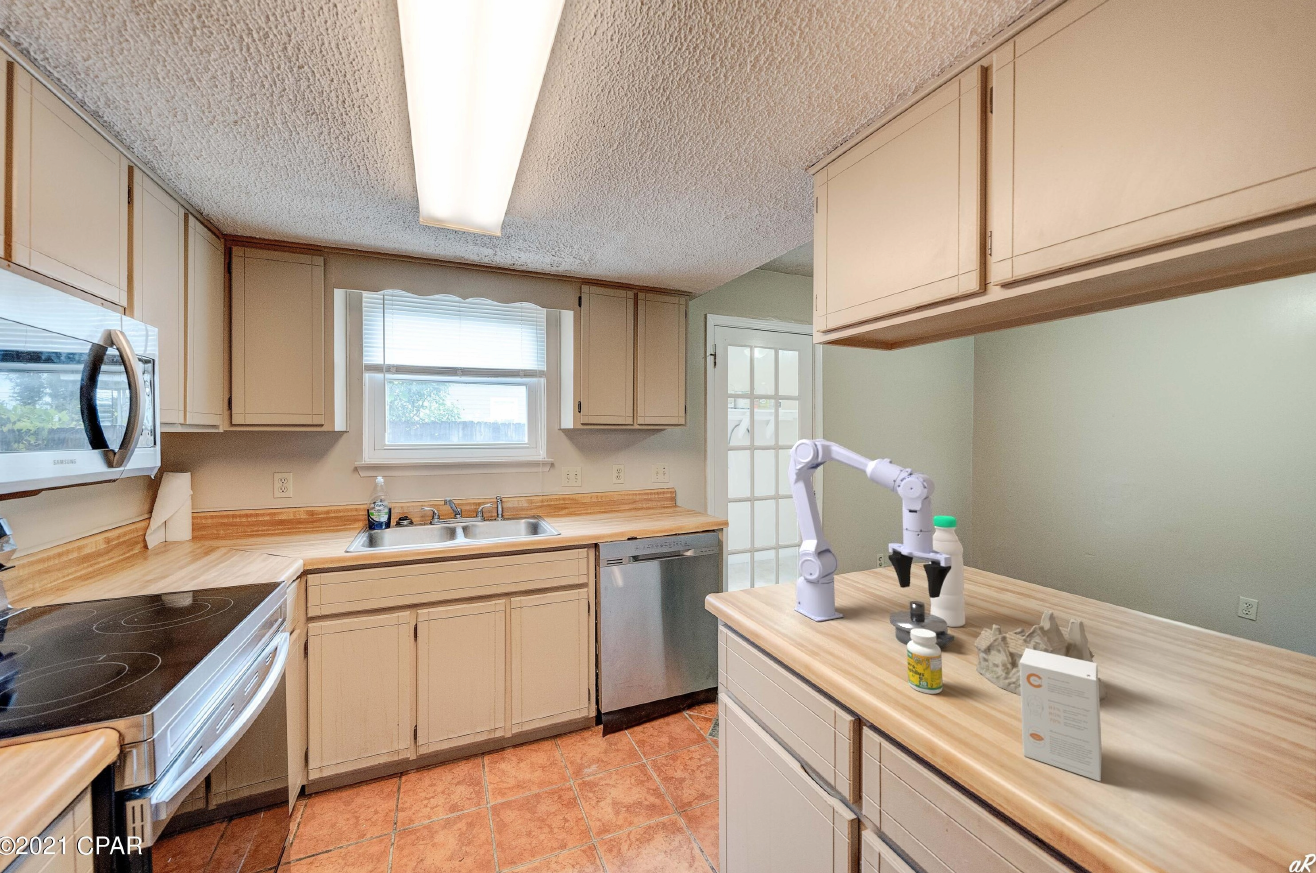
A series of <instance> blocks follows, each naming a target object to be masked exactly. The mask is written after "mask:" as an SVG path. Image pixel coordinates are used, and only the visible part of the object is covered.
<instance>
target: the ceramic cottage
mask: <svg viewBox="0 0 1316 873" xmlns="http://www.w3.org/2000/svg"><path fill="white" fill-rule="evenodd" d="M1002 632H1003V631H1002V628H1001V626H1000V625H997V624H993V625H992V630H990V629H988V627H987V628H982V631H981V632H980V634H979V636H977V638H976V640H975V642H974V645H973V646H974V648H976V650H977V656H978V662H976V669H975V670H976V671H977V673H979V674H981V675H982V676H983V678H985V679H987V680H988V681H990V683H993V685H994V686H997V687H999V688H1001V689H1003V690H1006V691H1008V692H1009V693H1012V694H1013V693H1014V694H1015V695H1017V696H1019V697H1021V684H1020V664H1019V662H1020V660H1021V658H1022V656H1023V654H1024V651H1025V649H1026V648H1028V649H1032V650H1037V651H1042V652H1046V653H1051V654H1056V655H1060V656H1065V657H1070V658H1074V659H1079V660H1084V661H1088V662H1093V663H1095V662H1094V661H1093V659H1094V657H1095V654H1093V652H1092V651H1091V649H1090V647H1089V640H1088V637H1087V634H1086V630H1085V625H1084V621H1083V620H1081V619H1078V618H1071V619H1070V620H1069V623H1068V628H1066V627H1061V626H1059V625H1058V622H1057V619H1056V617H1055V616H1054V611H1050V610H1046V609H1045V610H1044V612H1043V614H1042V617H1041V620H1040V624H1036V625H1033V626H1032V627H1031V629H1030V631H1027V632H1025V629H1024V628H1023V627H1020V628H1018V629H1015V630H1013V631H1010V632H1009V631H1008V632H1007V633H1002ZM1098 683H1099V701H1101V700H1103V699H1102V698H1104V699H1106V698H1107V695H1106V694H1107V692H1106V688H1105V684H1104V682H1103V681H1102V680H1101V678H1100V677H1098ZM1105 697H1106V698H1105ZM1100 699H1101V700H1100Z"/></svg>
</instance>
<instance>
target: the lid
mask: <svg viewBox="0 0 1316 873" xmlns="http://www.w3.org/2000/svg"><path fill="white" fill-rule="evenodd" d="M925 609H926V608H925V602H922V601H918V600H912V601H909V610H899V611H894V612H892V613H890V614H889V622H890V625H892V626H893V627H894V628H895V627H896V628H899V629H901V630H904V631H907V632H911V630H912V629H926V630H930V631H932V632H934V633H935V634H941V633H944V632H946V631H947V629H948V626H947V622H946V621H945V620H944V619H942V618H940V617H938V616H935V615H932V614H931V613H928V612H926V610H925Z"/></svg>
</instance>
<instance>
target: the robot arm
mask: <svg viewBox="0 0 1316 873" xmlns="http://www.w3.org/2000/svg"><path fill="white" fill-rule="evenodd" d="M789 454H790V462H789V465H788V466H789V467H788V471H787V476H788V477H787V478H788V481H789V485H790V491H791V496H792V499H793V503H794V509H795V513H796V516H797V522H798V528H799V531H800V535H801V540H802V543H801V546H800V548H799V549H798V550H799V551H798V554H799V562H798V571H799V573H800V575H801V576H799V577H798V579H797V581H796V584H795V585H796V588H795V590H796V592H795V594H796V606H795V607H794V608H793V609H794V610H793V611H796V612H797V613H800V614H802V615H804V616H806V617H808V618H809V619H812V620H813V621H815V622H822V621H823V622H824V621H828V620H833V619H840V618H843V617H844V615H843V614H842V613H840V612H837V611H836V601H835V600H836V597H835V596H836V595H835V572H836V571H837V570H838V567H839V560H838V557H837V556H836V554H835V552H834V551H833V549H832V545H831V543H830V542H829V541H828V540H827V539H826V537H825V534H824V529H823V526H822V522H821V517H820V513H819V509H818V504H817V500H816V499H817V498H816V496H815V489H814V486H813V483H812V476H813V475H814V473H815V472H816V471H817V470H818V468H820V467H821V466H823V465H824V464H825V463H827V462H832V461H833V462H834V461H835V462H837V463H840V464H843V465H845V466H847V467H850V468H852V469H855V470H857V471H860V472H862V473H865V474H866V476H867V478H868V480H869V481H870V482H872V483H874V484H876V485H878V486H881V487H883V488H884V489H887V490H890V491H892V492H894V493H896V494H898V495H899V497H900V498H901V500H902V508H901V509H902V538H903V540H902V542H903V543H898V542H893V543H891V542H890V543H888V553H891V554H889V555H888V556H887V557H888V558H887V559H888V560H889V561H890V563H891V565H892V567H893V569H894V571H895V574H896V576H897V579H898V582H899V583H898V584H899V586H900V588H903V589H904V588H909V587H910V586H911V571H912V570H911V569H912V565H913V560H914V559H918V560H922V561H926V562H928V563H924V564H923V566H922V567H923V570H924V572H925V575H926V578H927V586H928V587H927V589H928V590H927V591H928V595H929V598H930V597H931V598H936V597H939V596H940V592H941V588H942V585H943V582H944V580H945V578H946V576H947V574H948V573H949V571H950V570H951V566H952V557H951V556H948V555H945V554H943V553H940V552H938V551H935V550H933V535H934V532H933V530H934V529H933V509H932V497H931V496H932V495H933V494H934V493H935V492H934V491H935V488H936V487H935V482H934V481H933V479H932V478H931V477H930V476H929V475H926V473H924V472H915V473H914V469H913V468H910V467H907V468H904V467H903V466H900V465H898V464H895V463H893V459H891V458H889V457H887V458H878V459H876V460H872V459H870V458H867V456H863V455H861V454H859V453H857V452H856V451H853V450H852V449H849V448H847V447H845V446H842V445H840V444H838V443H836V442H833V441H828V440H826V439H824V438H817V439H807V438H805V439H803V438H802V439H800V440H798V441H796V443H795V444H794V445H793V447H792V448H791V449H790V451H789ZM929 562H931V564H929Z"/></svg>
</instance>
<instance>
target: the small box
mask: <svg viewBox="0 0 1316 873" xmlns="http://www.w3.org/2000/svg"><path fill="white" fill-rule="evenodd" d="M1093 662H1094V661H1093ZM1093 662H1088V661H1084V660H1079V659H1074V658H1070V657H1065V656H1060V655H1056V654H1051V653H1046V652H1042V651H1037V650H1032V649H1028V648H1026V649H1025V651H1024V654H1023V656H1022V658H1021V660H1020V662H1019V664H1020V684H1021V696H1020V704H1021V705H1020V706H1021V708H1020V710H1021V730H1022V734H1021V735H1022V750H1023V751H1022V752H1023V756H1024V757H1026V758H1029V759H1032V760H1036V761H1039V762H1041V763H1044V764H1047V765H1050V766H1053V767H1056V768H1060V769H1063V770H1065V771H1068V772H1070V773H1074V774H1078V775H1080V776H1083V777H1085V778H1087V779H1088V778H1089V779H1092V780H1095V781H1098V782H1101V779H1102V755H1103V754H1102V727H1101V726H1102V725H1101V724H1102V723H1101V708H1100V705H1101V704H1100V700H1099V683H1098V678H1099V669H1098V663H1097V662H1094V663H1093Z"/></svg>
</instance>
